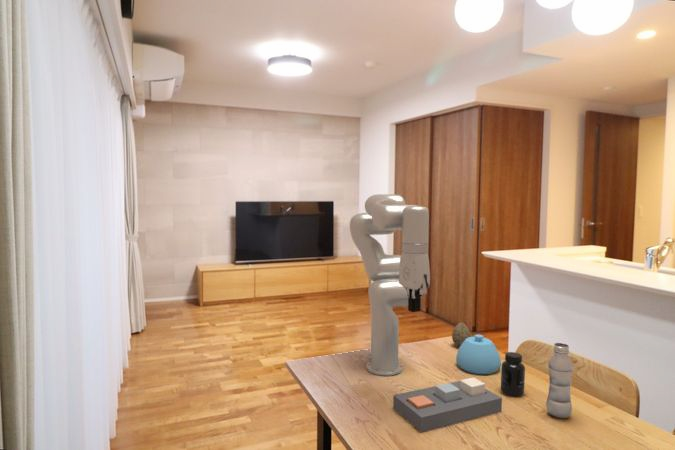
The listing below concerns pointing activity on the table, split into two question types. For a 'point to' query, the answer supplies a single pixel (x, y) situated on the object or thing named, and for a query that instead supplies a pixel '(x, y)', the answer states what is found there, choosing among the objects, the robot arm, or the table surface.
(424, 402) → the terracotta button
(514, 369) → the supplement bottle
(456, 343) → the decorative egg
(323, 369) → the table surface
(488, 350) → the sugar bowl
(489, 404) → the button panel
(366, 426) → the table surface
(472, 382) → the cream button
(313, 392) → the table surface
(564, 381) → the plastic bottle
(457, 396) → the light gray button
